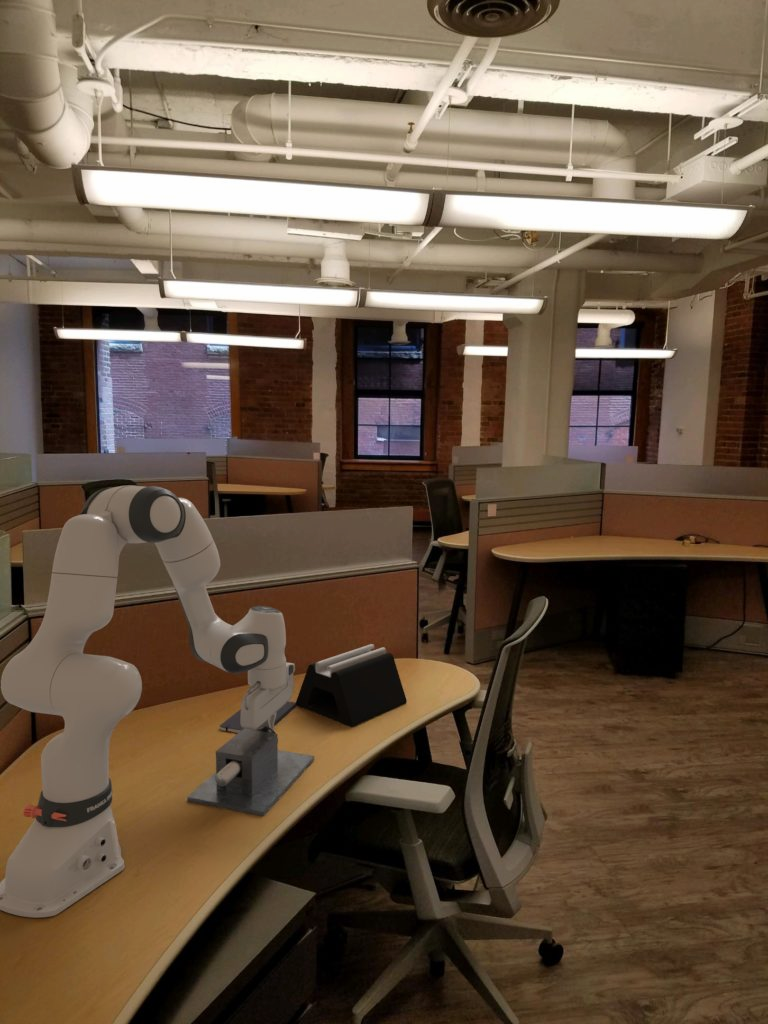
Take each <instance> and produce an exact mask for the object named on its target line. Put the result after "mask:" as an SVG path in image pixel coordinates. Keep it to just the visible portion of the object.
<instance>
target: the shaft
mask: <svg viewBox="0 0 768 1024" xmlns="http://www.w3.org/2000/svg"><path fill="white" fill-rule="evenodd" d="M256 731H261V732H268V733H274V734H277V733H276V731H275V729H274V730H272V729H271V728H269V727H260V728H259V729H257V730H256ZM278 737H279V736H277V745H279V738H278ZM241 771H242V761H238V760H232V761H231V762H230V763H228V764H227V765H226V766H225V767H224V768H223V769H222V770H220V771H219V772H218V773H217V774H216V776H215V781H216V783H217V784H218V785H219V786H226V785H227V784H228V783H229V782H230V781H231V780H232V779H233V778H234V777H235V776H236V775H238V774H239V773H240V772H241Z"/></svg>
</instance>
